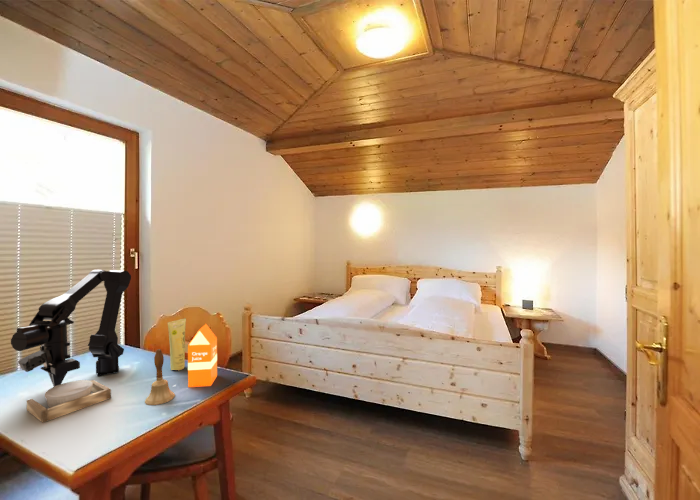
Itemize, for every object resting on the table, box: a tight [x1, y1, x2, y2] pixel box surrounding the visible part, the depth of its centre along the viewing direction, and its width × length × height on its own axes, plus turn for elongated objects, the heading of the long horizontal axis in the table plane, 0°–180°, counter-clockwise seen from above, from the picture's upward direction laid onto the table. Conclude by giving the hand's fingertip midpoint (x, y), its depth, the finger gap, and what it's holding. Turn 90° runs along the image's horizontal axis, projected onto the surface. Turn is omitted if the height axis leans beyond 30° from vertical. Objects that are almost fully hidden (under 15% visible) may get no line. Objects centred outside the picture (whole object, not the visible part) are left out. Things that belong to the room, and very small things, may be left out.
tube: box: [167, 318, 187, 371], centre depth 126 cm, size 6×5×20 cm
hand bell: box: [144, 348, 176, 406], centre depth 102 cm, size 8×8×16 cm
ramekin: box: [44, 379, 93, 409], centre depth 99 cm, size 11×11×5 cm
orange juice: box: [187, 323, 218, 388], centre depth 115 cm, size 8×9×20 cm
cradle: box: [26, 379, 112, 423], centre depth 99 cm, size 16×13×3 cm
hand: (56, 387), depth 104 cm, fingers closed
